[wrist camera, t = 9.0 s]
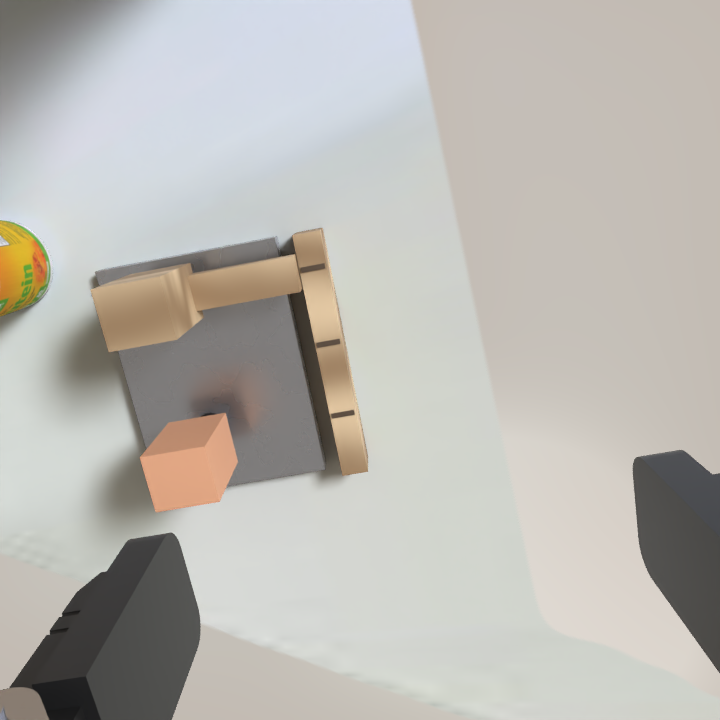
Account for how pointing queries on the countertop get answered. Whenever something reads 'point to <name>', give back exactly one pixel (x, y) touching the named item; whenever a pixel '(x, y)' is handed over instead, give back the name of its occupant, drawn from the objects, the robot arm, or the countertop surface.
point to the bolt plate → (230, 373)
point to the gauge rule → (237, 285)
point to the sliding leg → (190, 462)
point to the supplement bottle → (22, 267)
